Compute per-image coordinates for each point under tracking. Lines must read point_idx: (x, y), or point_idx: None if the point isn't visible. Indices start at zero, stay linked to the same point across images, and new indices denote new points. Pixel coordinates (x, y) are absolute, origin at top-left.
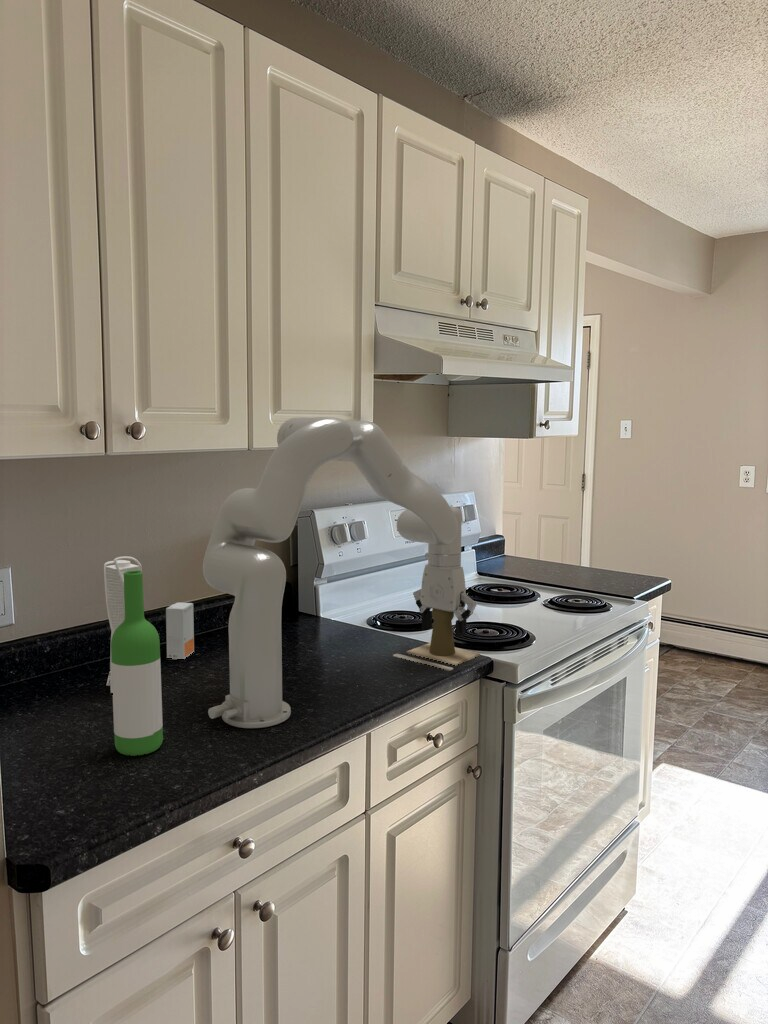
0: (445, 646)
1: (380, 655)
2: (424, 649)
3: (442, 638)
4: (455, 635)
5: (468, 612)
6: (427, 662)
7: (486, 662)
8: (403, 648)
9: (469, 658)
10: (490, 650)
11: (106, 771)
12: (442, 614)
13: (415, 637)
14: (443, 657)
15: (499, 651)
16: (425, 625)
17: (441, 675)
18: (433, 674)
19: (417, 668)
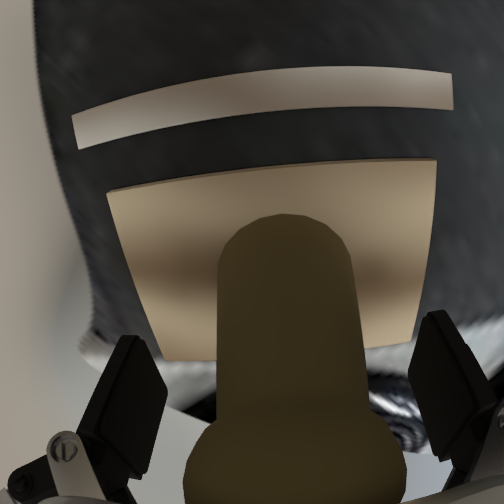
0: (224, 275)
1: (487, 53)
2: (383, 248)
3: (237, 298)
4: (137, 342)
5: (8, 481)
6: (222, 98)
7: (93, 313)
8: (476, 210)
9: (140, 298)
10: (195, 402)
11: None
12: (215, 475)
13: (484, 337)
14: (218, 222)
15: (171, 407)
16: (432, 342)
17: (59, 52)
18: (88, 26)
19: (205, 8)
